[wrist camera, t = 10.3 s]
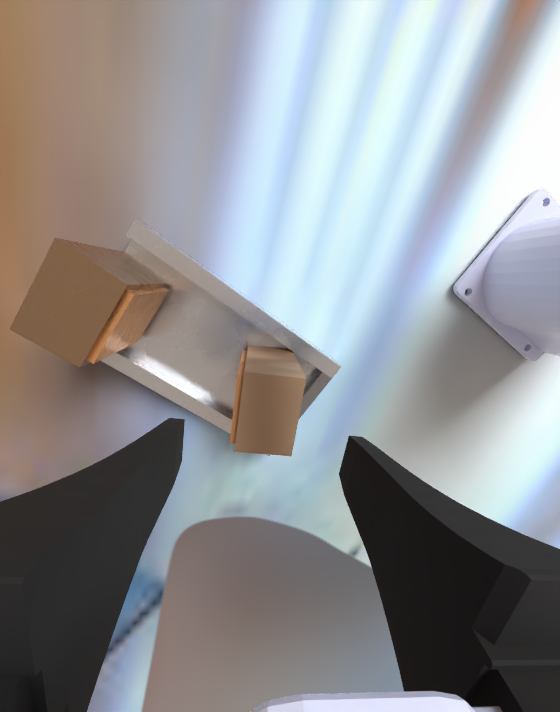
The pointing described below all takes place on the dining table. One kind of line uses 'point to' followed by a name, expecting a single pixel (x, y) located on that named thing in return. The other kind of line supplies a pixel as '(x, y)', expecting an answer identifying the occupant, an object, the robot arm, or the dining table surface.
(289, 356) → the tan cardboard box
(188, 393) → the rail
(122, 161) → the dining table surface
